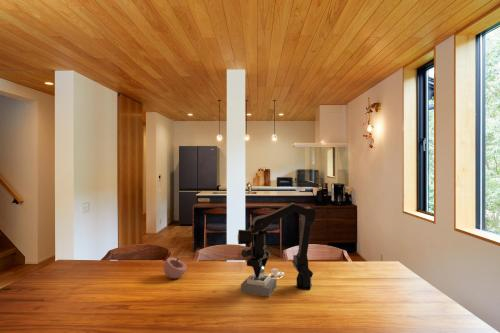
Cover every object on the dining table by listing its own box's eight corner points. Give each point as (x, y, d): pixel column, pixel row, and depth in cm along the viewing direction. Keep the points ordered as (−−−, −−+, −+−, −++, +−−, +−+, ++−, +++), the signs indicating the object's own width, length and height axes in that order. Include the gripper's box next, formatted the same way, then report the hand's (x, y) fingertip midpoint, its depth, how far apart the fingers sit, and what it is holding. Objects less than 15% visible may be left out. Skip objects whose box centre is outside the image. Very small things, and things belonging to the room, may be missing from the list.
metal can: (265, 281, 151) (265, 265, 151) (262, 285, 146) (262, 268, 146) (256, 280, 153) (255, 264, 152) (252, 284, 148) (252, 267, 148)
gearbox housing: (276, 286, 153) (276, 274, 152) (269, 297, 141) (269, 284, 141) (249, 283, 157) (249, 271, 157) (241, 292, 146) (241, 280, 146)
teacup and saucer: (284, 274, 170) (284, 267, 170) (284, 280, 163) (284, 272, 162) (268, 273, 171) (268, 266, 171) (267, 279, 163) (267, 271, 163)
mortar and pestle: (183, 282, 159) (183, 260, 158) (160, 282, 159) (160, 260, 159) (188, 273, 171) (188, 253, 170) (167, 273, 171) (167, 253, 171)
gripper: (250, 237, 160) (250, 267, 161) (236, 246, 143) (236, 280, 143) (270, 239, 157) (270, 269, 157) (258, 249, 139) (259, 283, 139)
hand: (259, 275), depth 149 cm, fingers open, 6 cm apart
